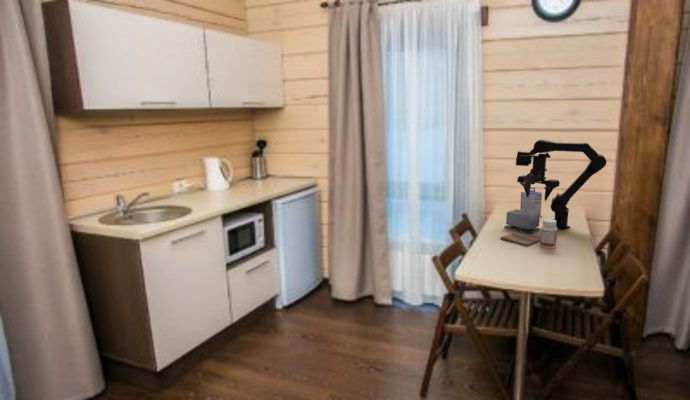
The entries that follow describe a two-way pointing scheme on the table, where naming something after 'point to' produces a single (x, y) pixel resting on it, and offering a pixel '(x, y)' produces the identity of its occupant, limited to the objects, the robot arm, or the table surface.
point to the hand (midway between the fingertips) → (536, 198)
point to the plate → (521, 238)
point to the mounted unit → (522, 221)
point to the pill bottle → (548, 234)
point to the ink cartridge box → (531, 201)
